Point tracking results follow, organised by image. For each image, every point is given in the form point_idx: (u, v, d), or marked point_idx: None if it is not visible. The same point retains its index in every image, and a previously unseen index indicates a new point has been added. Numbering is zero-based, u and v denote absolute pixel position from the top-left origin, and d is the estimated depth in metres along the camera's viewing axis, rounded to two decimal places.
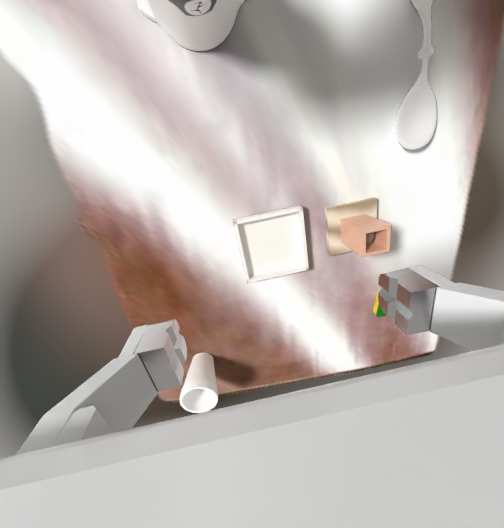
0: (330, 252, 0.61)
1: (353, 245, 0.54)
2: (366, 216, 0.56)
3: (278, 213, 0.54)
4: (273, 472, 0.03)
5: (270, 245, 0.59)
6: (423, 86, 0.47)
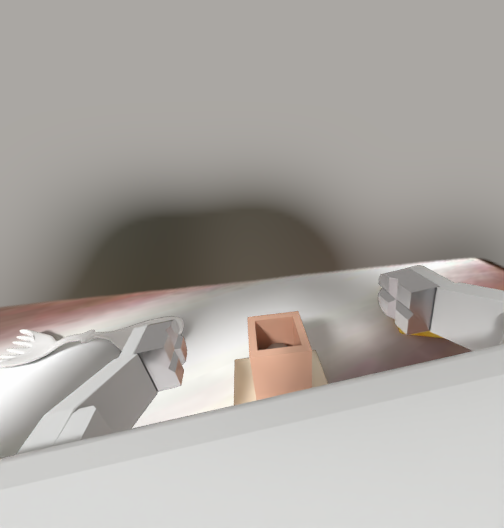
0: None
1: (297, 378, 0.25)
2: None
3: None
4: (273, 472, 0.03)
5: None
6: (119, 333, 0.43)
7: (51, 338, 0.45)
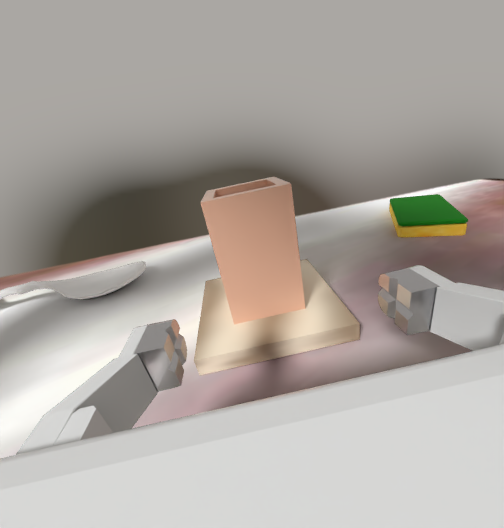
0: (345, 325, 0.17)
1: (277, 240, 0.17)
2: None
3: None
4: (272, 471, 0.03)
5: None
6: (65, 282, 0.35)
7: None
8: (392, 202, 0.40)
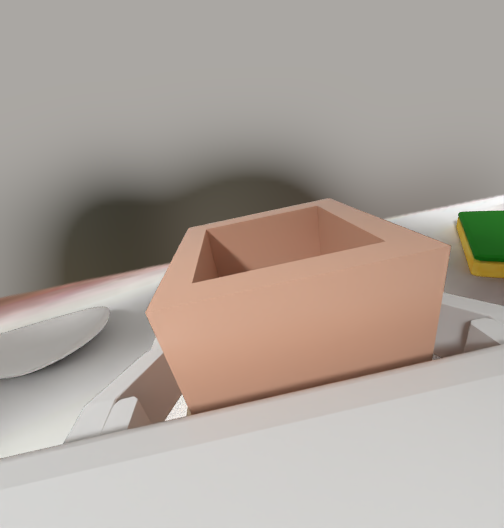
0: None
1: None
2: None
3: None
4: (273, 472, 0.03)
5: None
6: None
7: None
8: (463, 218, 0.29)
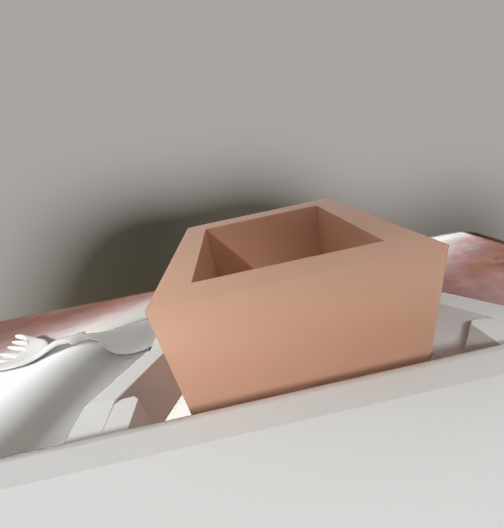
0: None
1: None
2: None
3: None
4: (273, 472, 0.03)
5: None
6: (108, 334, 0.42)
7: (44, 342, 0.45)
8: None
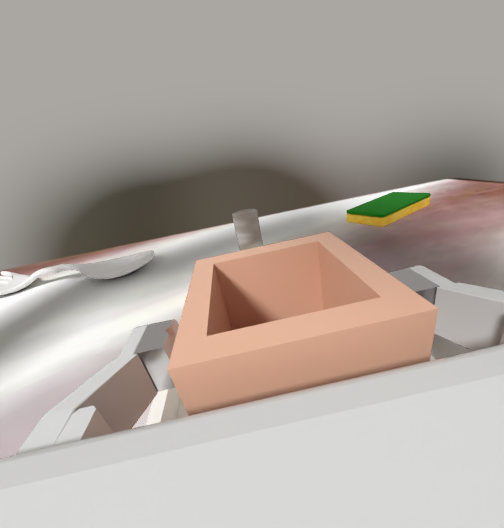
0: None
1: None
2: None
3: (154, 414, 0.13)
4: (273, 472, 0.03)
5: None
6: (89, 265, 0.42)
7: (28, 277, 0.45)
8: (384, 195, 0.47)
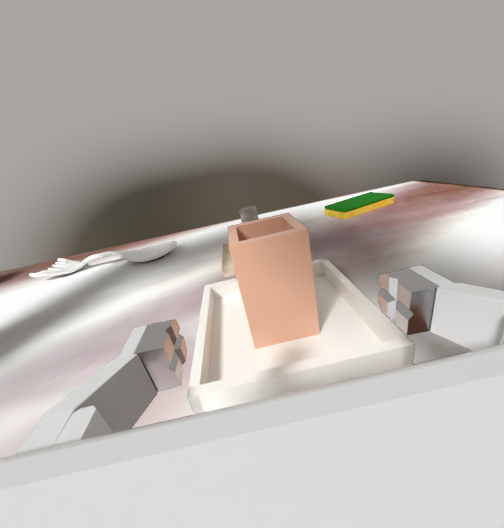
0: None
1: (295, 276, 0.19)
2: None
3: (203, 309, 0.26)
4: (273, 472, 0.03)
5: None
6: (127, 252, 0.54)
7: (79, 262, 0.58)
8: None
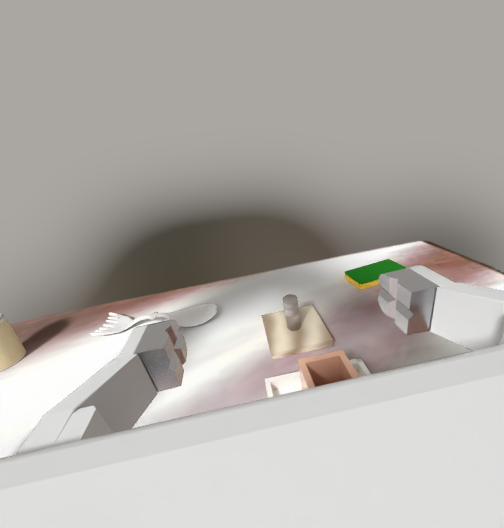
0: (328, 340, 0.46)
1: None
2: None
3: None
4: (273, 472, 0.03)
5: None
6: (174, 314, 0.62)
7: (129, 318, 0.66)
8: (380, 261, 0.67)
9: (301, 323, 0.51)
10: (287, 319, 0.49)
